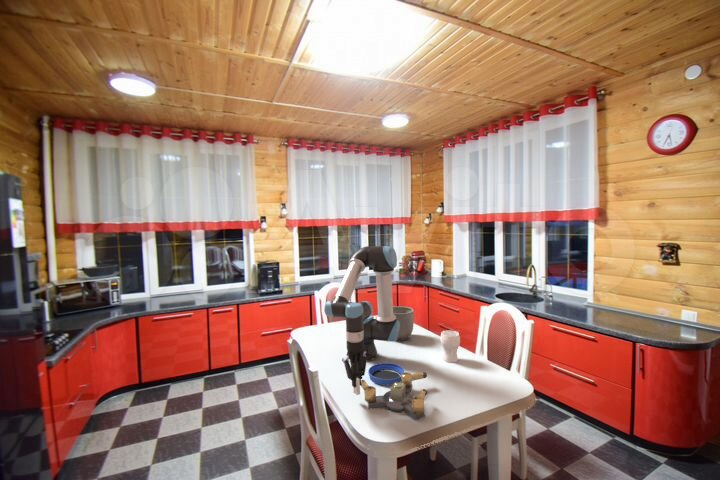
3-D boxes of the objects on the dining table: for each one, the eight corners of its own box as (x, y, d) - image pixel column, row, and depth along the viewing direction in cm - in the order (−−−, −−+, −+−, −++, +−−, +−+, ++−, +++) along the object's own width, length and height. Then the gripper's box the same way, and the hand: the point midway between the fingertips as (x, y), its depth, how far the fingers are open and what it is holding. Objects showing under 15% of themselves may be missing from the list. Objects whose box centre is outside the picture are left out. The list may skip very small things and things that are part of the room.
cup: (461, 364, 170) (461, 337, 169) (441, 363, 172) (440, 336, 171) (459, 356, 180) (459, 330, 179) (440, 355, 182) (439, 329, 181)
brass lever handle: (422, 415, 121) (422, 404, 121) (410, 412, 124) (410, 401, 123) (430, 397, 133) (430, 387, 133) (419, 395, 135) (419, 385, 135)
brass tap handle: (404, 387, 142) (404, 378, 142) (399, 382, 147) (399, 373, 147) (429, 382, 147) (429, 372, 146) (424, 377, 151) (423, 368, 151)
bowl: (395, 390, 146) (394, 382, 146) (361, 381, 156) (361, 374, 155) (410, 374, 161) (410, 367, 161) (379, 366, 171) (379, 360, 171)
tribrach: (363, 407, 132) (362, 387, 132) (382, 383, 152) (381, 365, 151) (422, 422, 122) (421, 400, 121) (434, 394, 141) (434, 375, 141)
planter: (419, 335, 215) (418, 308, 214) (407, 345, 198) (406, 315, 197) (393, 331, 225) (392, 304, 224) (379, 340, 209) (379, 311, 208)
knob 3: (377, 400, 132) (377, 390, 132) (367, 403, 131) (366, 393, 130) (366, 386, 145) (366, 376, 144) (356, 388, 143) (356, 378, 143)
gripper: (347, 346, 128) (349, 402, 130) (372, 338, 136) (373, 391, 138) (337, 341, 134) (339, 394, 136) (361, 333, 142) (363, 384, 143)
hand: (356, 393), depth 137 cm, fingers closed
